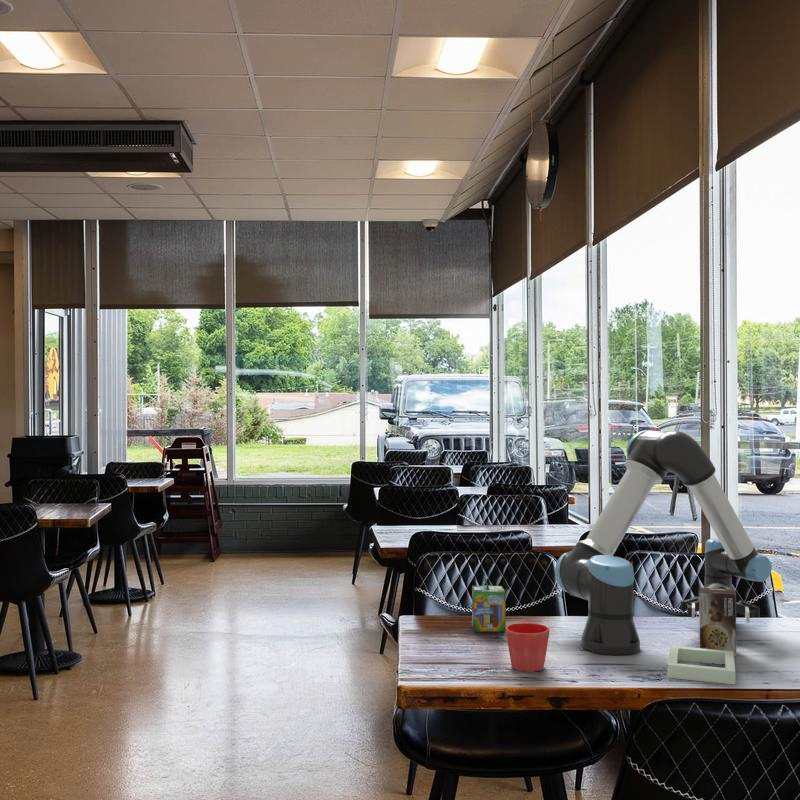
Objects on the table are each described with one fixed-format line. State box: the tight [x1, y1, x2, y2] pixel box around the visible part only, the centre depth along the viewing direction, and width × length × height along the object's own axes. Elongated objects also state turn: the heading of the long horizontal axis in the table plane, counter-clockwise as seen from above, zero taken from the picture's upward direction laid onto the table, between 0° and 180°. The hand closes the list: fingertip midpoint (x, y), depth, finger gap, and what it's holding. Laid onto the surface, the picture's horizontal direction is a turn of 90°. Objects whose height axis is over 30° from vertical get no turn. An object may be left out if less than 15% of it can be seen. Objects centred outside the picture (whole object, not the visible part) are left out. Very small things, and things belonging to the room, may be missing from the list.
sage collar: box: [666, 645, 736, 685], centre depth 217 cm, size 15×18×3 cm
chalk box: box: [471, 575, 507, 633], centre depth 257 cm, size 9×9×15 cm
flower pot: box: [505, 622, 551, 673], centre depth 219 cm, size 11×11×10 cm
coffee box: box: [698, 587, 737, 657], centre depth 234 cm, size 9×6×16 cm
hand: (720, 615), depth 237 cm, fingers open, 13 cm apart
